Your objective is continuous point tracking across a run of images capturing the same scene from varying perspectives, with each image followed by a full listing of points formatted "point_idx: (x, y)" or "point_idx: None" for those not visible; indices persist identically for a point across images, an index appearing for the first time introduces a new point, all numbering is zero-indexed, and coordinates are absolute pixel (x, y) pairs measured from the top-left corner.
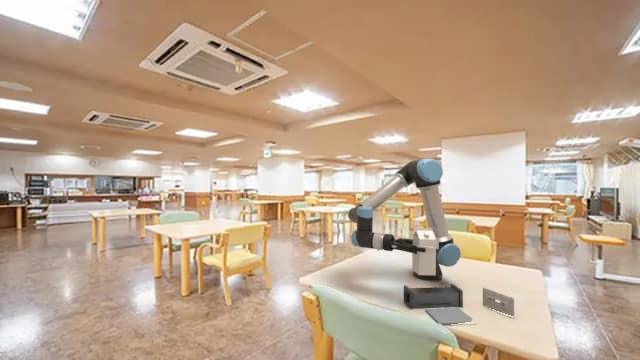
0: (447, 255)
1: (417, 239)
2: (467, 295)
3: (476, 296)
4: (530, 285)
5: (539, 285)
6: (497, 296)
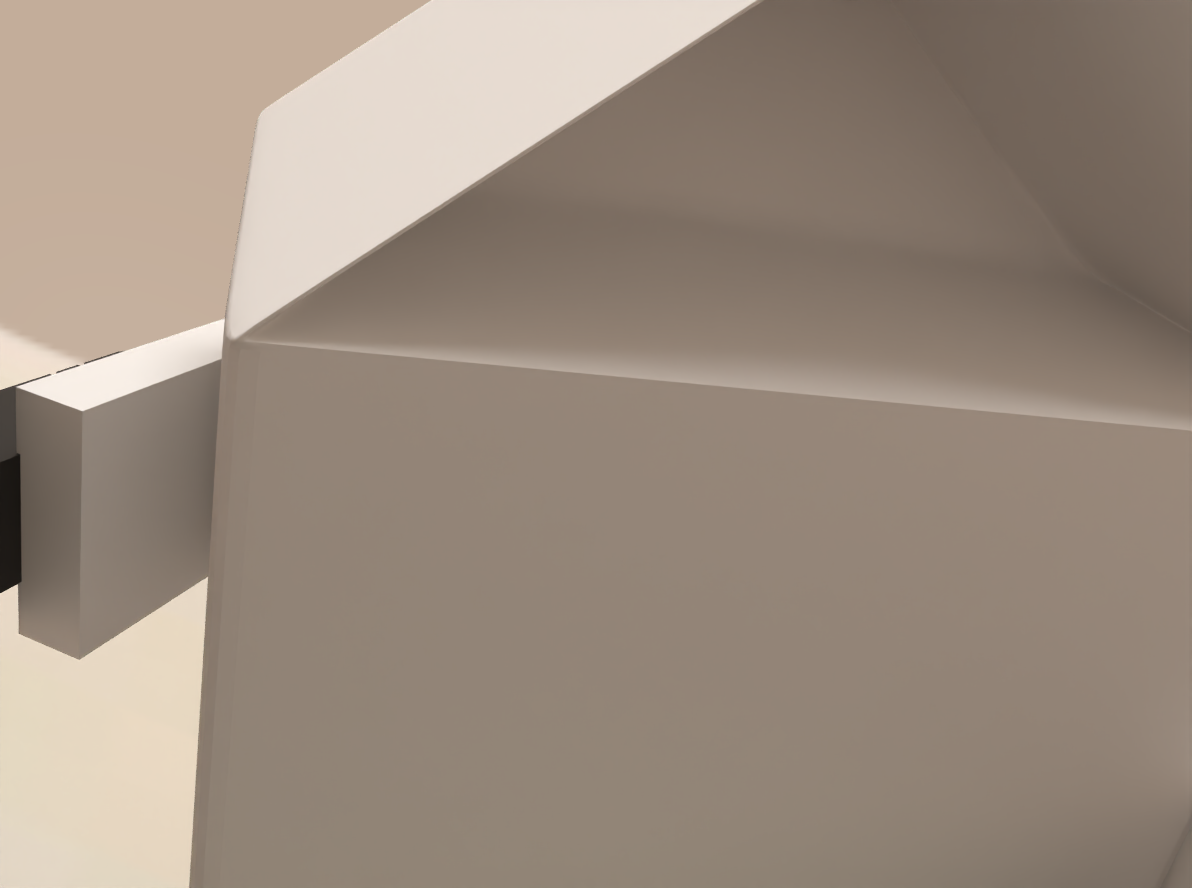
0: None
1: (1106, 513)
2: (88, 807)
3: (137, 741)
4: (2, 364)
5: (21, 340)
6: None
